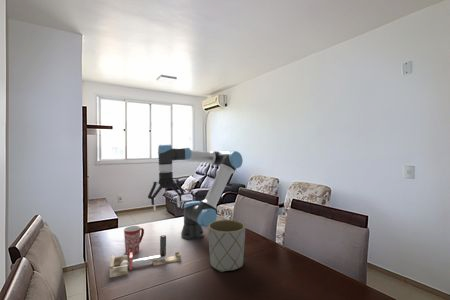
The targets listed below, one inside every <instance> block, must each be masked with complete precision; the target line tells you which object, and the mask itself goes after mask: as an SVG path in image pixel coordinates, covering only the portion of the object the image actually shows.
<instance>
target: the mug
mask: <svg viewBox="0 0 450 300" xmlns="http://www.w3.org/2000/svg"><path fill="white" fill-rule="evenodd" d="M123 233H124V234H123V235H124V249H125V250H124V251H125V255H130V253H131V252H132V255H135V254H137V253H138V252H140V244H141V242H142V240H143V237H144V235H145V229H144V228H143V227H141V226H140V225H129V226H126V227H125V228H124V229H123Z"/></svg>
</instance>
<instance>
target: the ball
mask: <svg viewBox="0 0 450 300" xmlns="http://www.w3.org/2000/svg"><path fill="white" fill-rule="evenodd" d="M124 265H127V269H128V268H129V267H130V261H128V259H127V260H124V261H122V262H121V264H120V265H119V266H124Z"/></svg>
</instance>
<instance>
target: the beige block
mask: <svg viewBox="0 0 450 300" xmlns="http://www.w3.org/2000/svg"><path fill="white" fill-rule="evenodd" d="M124 260H127V261H128V254H125V255H119V256H115V255H114V254H113V255H111V256H110V261H109V263H110V264H109V278H115V277H116V278H117V277H120V276H126V275H128V268H127V265H124V266H120V264H121V262H122V261H124Z"/></svg>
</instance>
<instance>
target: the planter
mask: <svg viewBox="0 0 450 300" xmlns="http://www.w3.org/2000/svg"><path fill="white" fill-rule="evenodd" d="M207 230H208V231H207V232H208V233H207V234H208V249H209V262H210V266H211V267H212V268H213V269H215V270H216V271H218V272H221V273H224V272H228V271H235V270H237V269H240V268H243V265H244V257H245V256H244V255H245V253H244V252H245V241H246V224H245V223H244V222H241V221H238V220H233V219H219V220H216V221H214V222H212V223H210V224H209V225H208V227H207Z"/></svg>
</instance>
